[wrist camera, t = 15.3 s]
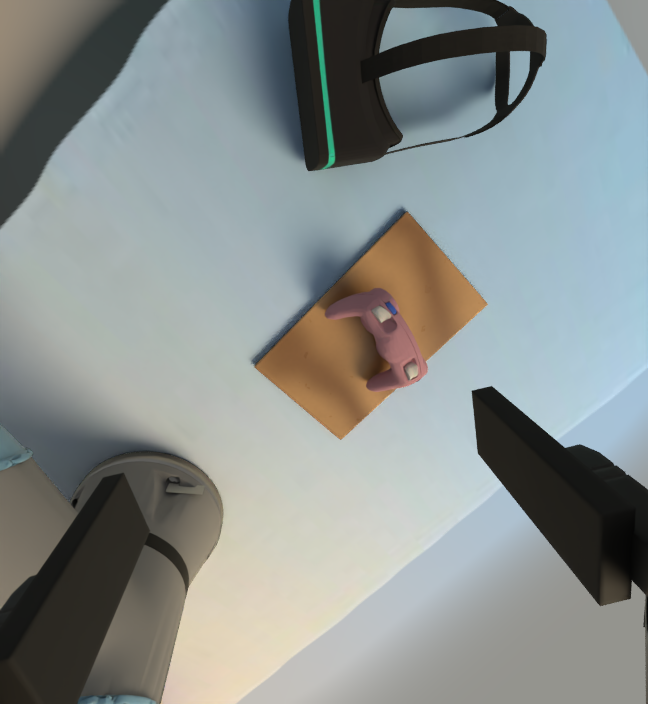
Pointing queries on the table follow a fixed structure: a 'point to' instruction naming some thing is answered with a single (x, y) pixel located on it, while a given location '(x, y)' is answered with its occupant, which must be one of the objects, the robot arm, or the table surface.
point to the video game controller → (384, 337)
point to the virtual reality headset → (385, 70)
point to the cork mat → (359, 344)
